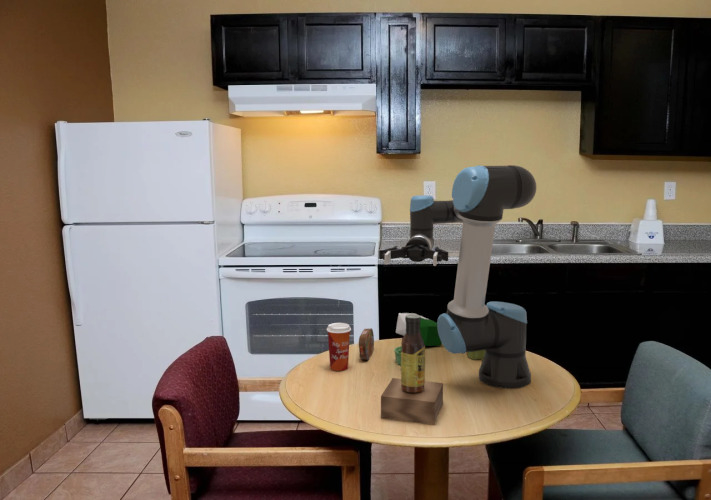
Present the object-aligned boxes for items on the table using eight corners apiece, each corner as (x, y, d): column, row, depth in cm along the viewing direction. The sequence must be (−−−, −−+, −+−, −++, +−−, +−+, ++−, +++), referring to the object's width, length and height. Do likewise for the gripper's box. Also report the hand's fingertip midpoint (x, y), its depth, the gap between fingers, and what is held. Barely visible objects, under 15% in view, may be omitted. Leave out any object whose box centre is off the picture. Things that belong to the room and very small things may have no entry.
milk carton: (446, 324, 211) (413, 310, 228) (426, 323, 206) (394, 310, 223) (442, 348, 212) (409, 333, 229) (422, 348, 207) (390, 332, 224)
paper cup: (333, 373, 186) (333, 330, 184) (323, 366, 192) (322, 324, 190) (355, 369, 189) (355, 326, 187) (344, 362, 196) (344, 321, 194)
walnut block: (442, 403, 163) (443, 383, 162) (434, 424, 151) (434, 402, 150) (392, 398, 167) (392, 377, 166) (380, 418, 155) (380, 396, 154)
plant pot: (480, 363, 193) (481, 338, 192) (456, 357, 200) (457, 331, 198) (496, 356, 199) (497, 331, 198) (473, 350, 206) (473, 326, 205)
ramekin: (418, 368, 190) (418, 355, 189) (391, 365, 193) (391, 352, 192) (424, 359, 198) (424, 346, 198) (398, 356, 201) (397, 344, 200)
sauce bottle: (422, 395, 154) (422, 320, 151) (398, 392, 156) (398, 319, 152) (426, 385, 160) (427, 313, 157) (403, 383, 162) (403, 312, 159)
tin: (367, 363, 195) (366, 338, 194) (357, 362, 196) (357, 338, 194) (374, 348, 210) (374, 325, 208) (366, 348, 210) (365, 325, 209)
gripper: (458, 261, 185) (455, 274, 165) (379, 259, 190) (366, 272, 170) (458, 237, 184) (455, 247, 163) (378, 235, 189) (365, 246, 169)
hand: (409, 260), depth 167 cm, fingers open, 13 cm apart
